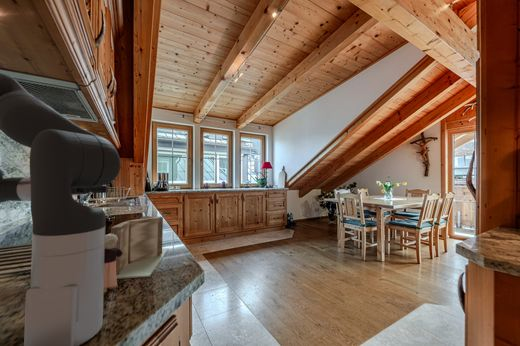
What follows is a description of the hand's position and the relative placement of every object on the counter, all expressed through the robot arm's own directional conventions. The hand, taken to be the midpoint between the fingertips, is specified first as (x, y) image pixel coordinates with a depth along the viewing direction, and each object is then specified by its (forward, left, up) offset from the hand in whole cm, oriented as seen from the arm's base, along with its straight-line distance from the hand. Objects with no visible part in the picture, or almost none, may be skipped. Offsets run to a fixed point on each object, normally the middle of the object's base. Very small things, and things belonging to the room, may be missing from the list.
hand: (107, 189), depth 72 cm
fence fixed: (-11, -8, -22) cm, 26 cm away
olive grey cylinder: (+13, -8, -22) cm, 27 cm away
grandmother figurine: (-21, -10, -22) cm, 32 cm away
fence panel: (-3, -12, -21) cm, 25 cm away
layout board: (-4, -12, -22) cm, 25 cm away
